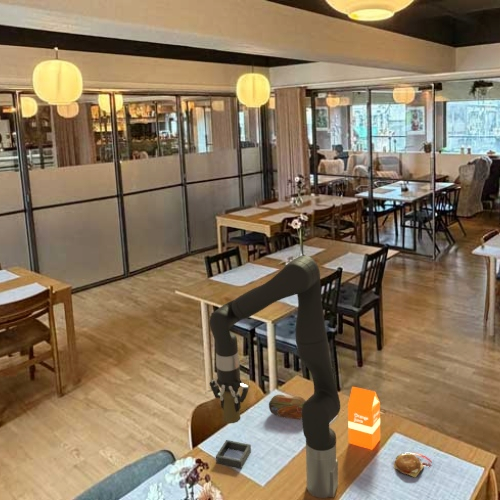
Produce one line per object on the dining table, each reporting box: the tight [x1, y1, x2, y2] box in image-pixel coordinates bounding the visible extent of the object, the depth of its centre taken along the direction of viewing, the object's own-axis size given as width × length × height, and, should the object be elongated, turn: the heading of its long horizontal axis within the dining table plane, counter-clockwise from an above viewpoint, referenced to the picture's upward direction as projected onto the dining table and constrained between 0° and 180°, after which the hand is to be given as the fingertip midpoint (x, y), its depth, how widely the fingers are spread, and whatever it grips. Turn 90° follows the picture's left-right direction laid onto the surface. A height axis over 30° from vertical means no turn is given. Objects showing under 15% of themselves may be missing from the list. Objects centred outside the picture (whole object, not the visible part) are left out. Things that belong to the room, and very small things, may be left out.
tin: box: [268, 394, 306, 420], centre depth 208 cm, size 15×3×8 cm, turn 73°
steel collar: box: [215, 439, 252, 470], centre depth 187 cm, size 9×9×3 cm
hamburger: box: [393, 452, 433, 478], centre depth 179 cm, size 14×14×6 cm
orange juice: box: [347, 386, 381, 451], centre depth 191 cm, size 8×9×20 cm
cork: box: [222, 391, 241, 424], centre depth 182 cm, size 6×6×11 cm
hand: (231, 409), depth 182 cm, fingers closed on cork, 4 cm apart
